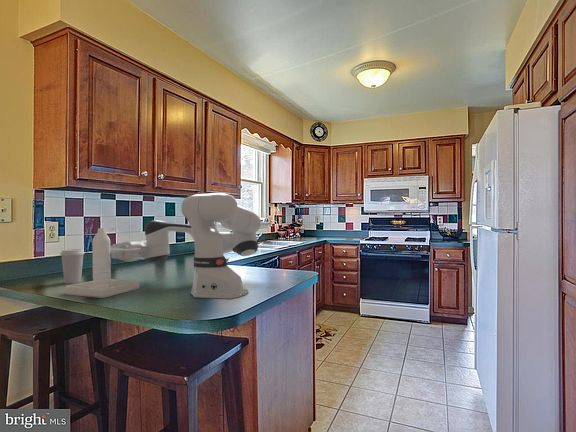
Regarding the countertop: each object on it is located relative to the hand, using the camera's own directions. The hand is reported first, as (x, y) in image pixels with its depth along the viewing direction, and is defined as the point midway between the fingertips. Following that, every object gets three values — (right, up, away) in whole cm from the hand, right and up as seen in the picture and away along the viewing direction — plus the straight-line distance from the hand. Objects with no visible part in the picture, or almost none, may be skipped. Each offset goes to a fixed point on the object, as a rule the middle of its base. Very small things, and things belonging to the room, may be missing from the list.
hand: (102, 254), depth 141 cm
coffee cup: (-24, -15, +20) cm, 35 cm away
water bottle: (+1, -14, +1) cm, 14 cm away
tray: (0, -15, 0) cm, 15 cm away
